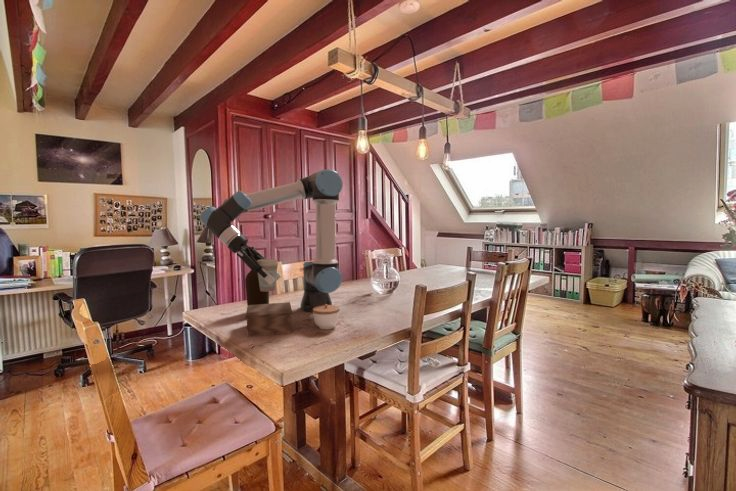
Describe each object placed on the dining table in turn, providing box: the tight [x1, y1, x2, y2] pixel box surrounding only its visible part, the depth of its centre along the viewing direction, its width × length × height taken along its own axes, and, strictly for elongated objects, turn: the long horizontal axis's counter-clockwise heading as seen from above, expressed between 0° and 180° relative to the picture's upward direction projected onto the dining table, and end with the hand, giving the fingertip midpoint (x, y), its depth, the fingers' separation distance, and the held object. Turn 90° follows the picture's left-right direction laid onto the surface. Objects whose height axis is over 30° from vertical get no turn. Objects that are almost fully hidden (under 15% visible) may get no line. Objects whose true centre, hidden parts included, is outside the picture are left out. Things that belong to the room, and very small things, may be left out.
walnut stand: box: [244, 301, 293, 338], centre depth 142 cm, size 17×17×8 cm
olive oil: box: [244, 269, 270, 307], centre depth 165 cm, size 11×11×25 cm
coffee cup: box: [257, 258, 279, 293], centre depth 141 cm, size 8×8×12 cm
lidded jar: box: [312, 304, 341, 330], centre depth 143 cm, size 11×11×9 cm
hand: (276, 280), depth 141 cm, fingers closed on coffee cup, 8 cm apart
